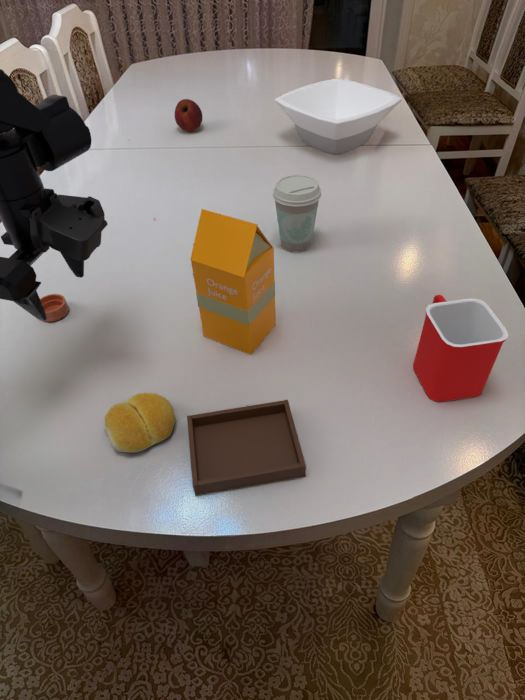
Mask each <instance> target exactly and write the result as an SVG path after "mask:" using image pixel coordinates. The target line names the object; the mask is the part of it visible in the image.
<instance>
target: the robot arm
mask: <svg viewBox="0 0 525 700" xmlns="http://www.w3.org/2000/svg"><path fill="white" fill-rule="evenodd" d="M91 147H92V134H91V130H90V128H89V126H88V125H86V122H85V121H84V119H83V117H81V116H80V114H79V113H78V112H77V111H76V110H75V109H73V108H72V107H71V106H70V103H69V100H68V98H67V96H64V95H59V94H51V95H49V96H47V97H45V98H44V99H43V100H42V101H40V102H38V103H36V104H34V103H32V102H31V101H30V100H29V99H28V98H26V97H25V96H24V95H23V94H22V93H20V92H19V91H18V88H17V86H16V84H15V82H14V81H13V79H12V78H11V77H10V76H9V75H8V74H7V73H6V72H5V70H3V69H1V68H0V221H1V224H2V225H3V227H4V230H5V232H4V233H3V234H2V235H1V236H0V239H1V241H2V243H3V245H8V246H13V247H14V249H15V251H14V252H13V253H12V254H11V255H10V256H9V257H5V256H0V300H5V301H11V302H13V303H15V304H16V305H17V306H19V307H20V308H22V309H23V310H25V312H27V313H29V314H30V315H31V316H33V317H34V318H36V319H37V320H39V321H44V322H46V321H45V320H46V319H47V317H46V313H45V310H44V307H43V305H42V303H41V300H40V299H41V298H40V296H39V293H38V291H37V290H38V288H39V287H40V286H41V284H42V282H41V281H38V280H37V274H36V271H35V269H34V267H33V266H32V265H33V264H35V262H36V261H37V260H38V259H39V258H40V257H41V256H42V255H43V254H44V253H47V252H48V251H49V250H50V248H51V250H55V251H57V252H59V253H60V255H61V256H62V258H63V259H64V261H65V263H66V264H67V266H68V268H69V270H70V271H71V272H72V273H73V275H74V276H75V277H77V278H83V277H84V276H85V261H87V260H88V259H89V258H91V255H92V254H93V253H94V251H96V249H97V248H99V247H100V246H101V244H102V232H103V231H104V230H105V228H106V227H107V226H108V221H107V220H106V219H105V210H104V209H103V206H102V204H101V202H100V200H99V199H97V198H95V197H92V196H89V195H88V196H87V197H86V196H85V197H84V196H77V195H76V196H75V195H66V194H58V193H56V192H55V189H53V188H45V186H44V183H43V180H42V179H41V176H40V173H39V170H38V168H40V169H41V170H44V171H46V172H53V171H55V170H58V169H59V168H60V167H62V166H64V165H66V164H67V163H69V162H71V161H72V160H75V159H76V158H78V157H79V156H82V155H83V154H85V153H86V152H88V151H89V150H90V149H91Z"/></svg>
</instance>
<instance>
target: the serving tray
mask: <svg viewBox="0 0 525 700" xmlns="http://www.w3.org/2000/svg"><path fill="white" fill-rule="evenodd" d="M186 421H187V431H188V432H187V433H188V447H189V457H190V468H191V469H190V470H191V481H192V482H191V483H192V488H193V492H194V495H195V496H197V497H198V496H203V495H210V494H214V493H219V492H226V491H231V490H237V489H243V488H249V487H255V486H259V485H265V484H272V483H277V482H283V481H289V480H293V479H294V480H295V479H300V478H306V476H307V475H306V471H307V465H306V461H305V458H304V454H303V451H302V446H301V443H300V439H299V436H298V432H297V429H296V425H295V421H294V417H293V413H292V410H291V406H290V403H289V399H284V400H277V401H269V402H264V403H259V404H252V405H246V406H240V407H233V408H227V409H220V410H215V411H208V412H203V413H197V414H190V415H187V416H186Z"/></svg>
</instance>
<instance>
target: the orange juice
mask: <svg viewBox="0 0 525 700" xmlns="http://www.w3.org/2000/svg"><path fill="white" fill-rule="evenodd" d="M274 248H275V247H274V246H273V245H272V243H271V242H270V241H269V240H268V238H267V237H266V235H265V234H264V233H263V231H262V230H261V229H260V227H259V226H258V224H257V223H255V222H251V221H246V220H243V219H240V218H236V217H232V216H229V215H225V214H221V213H218V212H214V211H211V210H207V209H204V208H201V210H200V215H199V219H198V224H197V228H196V232H195V237H194V242H193V245H192V250H191V256H190V258H189V260H190V263H191V269H192V276H193V281H194V287H195V295H196V300H197V307H198V311H199V317H200V322H201V329H202V334H203V337H205V338H208V339H210V340H212V341H215V342H217V343H220V344H223V345H225V346H227V347H230V348H233V349H235V350H238V351H240V352H243V353H245V354H248V355H250V356H252V355H253V353H255V351H256V350H257V349H258V347H259V346H260V345H261V344H262V342H263V341H264V340H265V339H266V338H267V336H268V335H269V334H270V333H271V332H272V330H273V329H274V328H275V327H276V326H277V323H276V321H277V320H276V281H275V249H274Z"/></svg>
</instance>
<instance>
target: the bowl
mask: <svg viewBox="0 0 525 700" xmlns="http://www.w3.org/2000/svg"><path fill="white" fill-rule="evenodd" d="M274 101H275V103H276V104H277V105H278V106H279V108H280V110H282V112H283V113H284V114H285V115H286V116H287V117H288V118H289V120H290V121H291V122H292V123H293V124H294V126H295V129H296V131H297V134H298V137H299V139H300V140H301V141H302V142H303V143H305V145H308V146H310V147H312V148H315V149H316V150H319V151H322V152H324V153H327V154H331V155H339V154H342V153H343V154H344V153H346V152H349V151H352V150H355V149H358V148H359V147H361V146H363V145H365V144H366V143H368V142H369V141H370V140H371V138H372V136H373V135H374V132H375V131H376V129H377V128H378V125H379V124H380V123H381V122H382V121H383V120H384V119H385V118H386V117H388V115H389V114H390V113H391V112H392V111H393V110H394V109H395V108H396V107H397V106H398V105H399V104H400V103H401V102H402V98H401V97H400V96H399V95H396V94H394V93H392V92H390V91H388V90H384V89H381V88H378V87H375V86H371V85H369V84H365V83H362V82H359V81H354V80H350V79H345V78H339V77H338V78H337V77H336V78H331V79H328V80H327V79H325V80H321V81H318V82H315V83H311V84H307V85H303V86H301V87H297V88H296V89H295V88H294V89H292V90H290V91H287V92H286V93H284V94H282V95H280V96H278V97H276V98H275V99H274Z"/></svg>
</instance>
